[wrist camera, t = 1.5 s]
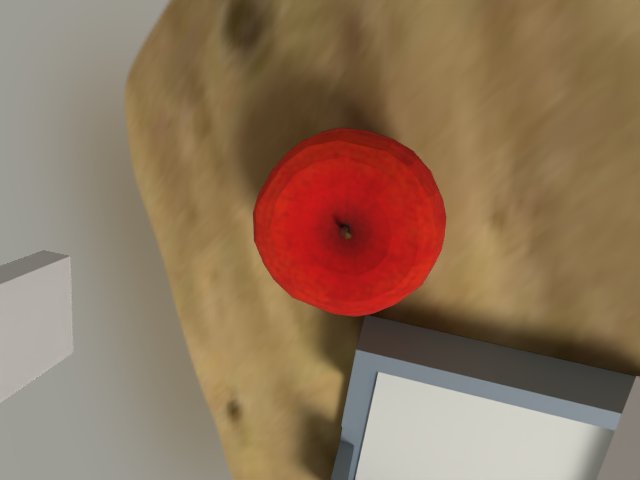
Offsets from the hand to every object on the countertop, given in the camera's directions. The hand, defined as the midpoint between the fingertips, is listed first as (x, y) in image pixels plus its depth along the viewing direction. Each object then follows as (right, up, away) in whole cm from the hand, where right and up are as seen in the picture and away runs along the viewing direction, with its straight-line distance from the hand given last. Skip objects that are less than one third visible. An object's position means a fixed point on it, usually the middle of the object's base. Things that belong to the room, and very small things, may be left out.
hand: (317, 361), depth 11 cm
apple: (+3, +5, +16) cm, 17 cm away
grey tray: (+10, -10, +19) cm, 24 cm away
